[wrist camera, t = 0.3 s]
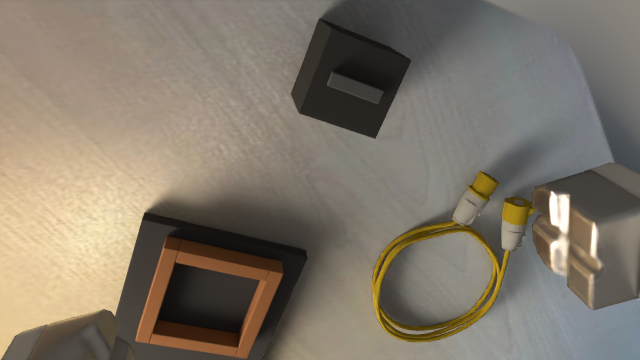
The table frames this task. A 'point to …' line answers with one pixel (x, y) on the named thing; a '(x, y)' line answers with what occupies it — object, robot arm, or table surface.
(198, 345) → the base pad
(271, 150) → the table surface
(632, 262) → the robot arm
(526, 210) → the extension cord
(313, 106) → the black block
